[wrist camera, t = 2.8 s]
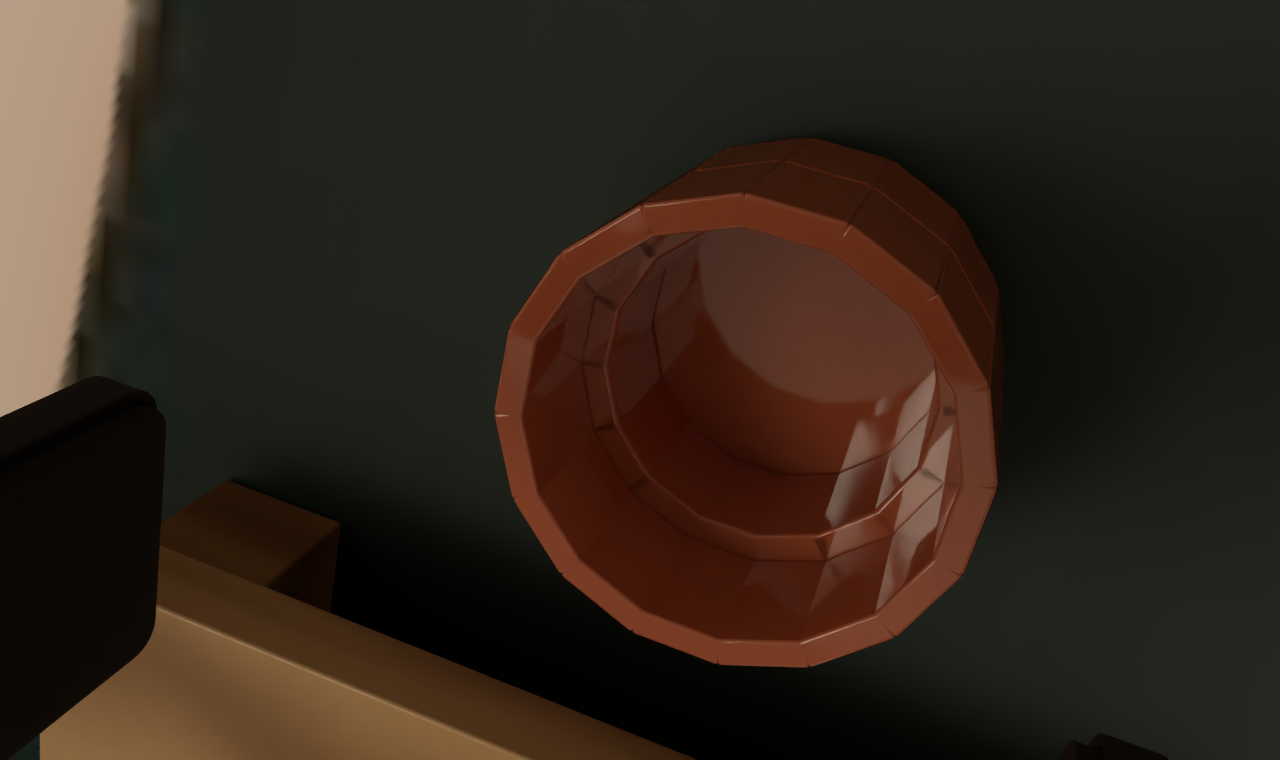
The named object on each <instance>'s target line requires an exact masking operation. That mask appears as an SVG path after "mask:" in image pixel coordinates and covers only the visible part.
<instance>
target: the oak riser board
mask: <svg viewBox="0 0 1280 760" xmlns="http://www.w3.org/2000/svg"><path fill="white" fill-rule="evenodd" d="M340 528H341V524H340V523H339V522H337V521H334V520H331V519H329V518H326V517H323V516H321V515H318V514H316V513H313V512H310V511H308V510H305V509H302V508H300V507H297V506H295V505H292V504H289V503H287V502H284V501H281V500H279V499H276V498H274V497H271V496H268V495H266V494H263V493H260V492H258V491H255V490H253V489H250V488H247V487H245V486H242V485H239V484H237V483H234V482H232V481H224V482H223V483H221V484H219V485H218V486H216V487H215V488H213V489H212V490H210V491H209V492H207V493H206V494H204V495H203V496H201V497H200V498H198V499H197V500H195V501H194V502H192V503H191V504H189V505H188V506H186V507H185V508H183V509H182V510H180V511H178V512H177V513H175V514H174V515H172V516H171V517H169V518H168V519H166V520H165V521H163V522H162V523H161V530H160V549H159V567H158V586H157V604H156V621H155V627H154V630H153V633H152V635H151V637H150V639H149V641H148V643H147V645H146V646H145V647H144V649H143V650H142V651H141V652H140V653H139V654H138V655H137V656H136V657H135V658H134V659H133V660H132V661H130V662H129V663H128V664H127V665H125V666H124V667H123V668H122V669H120V670H119V671H118V672H117V673H115V674H114V675H113V676H112V677H110V678H109V679H108V680H107V681H105V682H104V683H103V684H102V685H100V686H99V687H98V688H97V689H95V690H94V691H93V692H92V693H90V694H89V695H88V696H87V697H85V698H84V699H83V700H82V701H80V702H79V703H78V704H77V705H75V706H74V707H73V708H72V709H70V710H69V711H68V712H67V713H65V714H64V715H63V716H62V717H60V718H59V719H58V720H57V721H55V722H54V723H53V724H52V725H50V726H49V727H48V728H47V729H45V730H44V731H43V732H42V733H40V760H697V759H695V758H692V757H690V756H687V755H685V754H682V753H680V752H677V751H675V750H672V749H670V748H667V747H665V746H662V745H660V744H657V743H655V742H652V741H650V740H647V739H645V738H642V737H640V736H637V735H635V734H632V733H630V732H627V731H625V730H622V729H620V728H617V727H615V726H612V725H610V724H607V723H605V722H602V721H600V720H597V719H595V718H592V717H590V716H587V715H585V714H582V713H580V712H577V711H575V710H572V709H570V708H567V707H565V706H562V705H560V704H557V703H555V702H552V701H550V700H547V699H545V698H542V697H540V696H537V695H535V694H532V693H530V692H527V691H525V690H522V689H520V688H517V687H515V686H512V685H510V684H507V683H505V682H502V681H500V680H497V679H495V678H492V677H490V676H487V675H485V674H482V673H480V672H477V671H475V670H472V669H470V668H467V667H465V666H462V665H460V664H457V663H455V662H452V661H450V660H447V659H445V658H442V657H440V656H437V655H435V654H432V653H430V652H427V651H425V650H422V649H419V648H417V647H414V646H412V645H409V644H407V643H404V642H402V641H399V640H397V639H394V638H392V637H389V636H387V635H384V634H382V633H379V632H377V631H374V630H372V629H369V628H367V627H364V626H362V625H359V624H357V623H354V622H352V621H349V620H347V619H344V618H342V617H339V616H337V615H334V614H332V613H330V611H331V603H332V594H333V586H334V578H335V569H336V561H337V553H338V544H339V536H340Z"/></svg>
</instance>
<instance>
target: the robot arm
mask: <svg viewBox="0 0 1280 760" xmlns="http://www.w3.org/2000/svg"><path fill="white" fill-rule="evenodd" d="M165 438H166V421H165V418H164V416H163V414H162V413H160V412H159V411H157V405H156V403H155V400H154V398H153V397H152V396H151V395H150V394H149V393H148V392H145V391H142V390H139V389H137V388H134V387H131V386H128V385H125V384H123V383H120V382H117V381H114V380H111V379H109V378H106V377H102V376H93V377H89V378H86V379H84V380H82V381H80V382H77V383H75V384H73V385H71V386H68V387H66V388H64V389H62V390H60V391H57V392H55V393H53V394H51V395H49V396H46V397H44V398H42V399H40V400H38V401H35V402H33V403H31V404H29V405H27V406H24V407H22V408H20V409H17V410H15V411H13V412H11V413H9V414H6V415H4V416H2V417H0V760H8V759H9V758H10V757H11V756H13V755H14V754H15V753H16V752H18V751H19V750H20V749H21V748H23V747H24V746H25V745H26V744H28V743H29V742H30V741H32V740H33V739H34V738H35V737H37V736H38V735H39V734H40V733H42V732H43V731H44V730H45V729H47V728H48V727H49V726H50V725H52V724H53V723H54V722H55V721H57V720H58V719H59V718H60V717H62V716H63V715H64V714H65V713H67V712H68V711H69V710H70V709H72V708H73V707H74V706H75V705H77V704H78V703H79V702H80V701H82V700H83V699H84V698H85V697H87V696H88V695H89V694H90V693H92V692H93V691H94V690H95V689H97V688H98V687H99V686H100V685H102V684H103V683H104V682H105V681H107V680H108V679H109V678H110V677H112V676H113V675H114V674H115V673H117V672H118V671H119V670H120V669H122V668H123V667H124V666H125V665H127V664H128V663H129V662H130V661H132V660H133V659H134V658H135V657H136V656H137V655H138V654H139V653H140V652H141V651H142V650H143V649H144V647H145V646H146V645H147V643H148V641H149V639H150V637H151V635H152V633H153V630H154V627H155V621H156V604H157V586H158V567H159V549H160V530H161V512H162V493H163V475H164V456H165ZM1059 760H1168V758H1166V757H1165V756H1164V755H1162V754H1159V753H1156V752H1153V751H1150V750H1148V749H1145V748H1142V747H1139V746H1136V745H1134V744H1131V743H1128V742H1125V741H1122V740H1120V739H1117V738H1114V737H1111V736H1108V735H1106V734H1103V733H1101V734H1098V735H1096V736H1095V737H1094V739H1093V740H1092V741H1091V743H1090V744H1089V746H1088V745H1085V744H1082V743H1079V742H1077V741H1074V740H1073V741H1070V742H1069V743H1068V745H1067V746H1066V747H1065V749H1064V751H1063V753H1062V755H1061V757H1060V759H1059Z"/></svg>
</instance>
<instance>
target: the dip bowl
mask: <svg viewBox="0 0 1280 760" xmlns="http://www.w3.org/2000/svg"><path fill="white" fill-rule="evenodd" d="M957 213H958V212H957V210H956V209H955V208H953V207H952V206H951V205H949V204H948V203H947V202H946V201H944V200H943V199H942V198H941V197H939V196H938V195H937V194H936V193H934V192H933V191H932V190H930V189H929V188H928V187H927V186H925V185H924V184H923V183H922V182H920V181H919V180H918V179H916V178H915V177H914V176H913V175H911V174H910V173H909V172H908V171H906V170H905V169H904V168H903V167H901V166H900V165H899V164H897V163H896V162H895V161H890V162H889V160H888V159H887V158H884V157H881V156H877V155H874V154H870V153H866V152H863V151H859V150H855V149H852V148H848V147H845V146H841V145H837V144H834V143H830V142H827V141H823V140H819V139H816V138H813V139H810V140H808V139H807V138H804V137H803V138H796V139H788V140H780V141H773V142H765V143H757V144H750V145H742V146H734V147H732V148H730V149H724V150H723V151H721V152H719V153H718V154H716V155H714V156H713V157H711V158H709V159H708V160H706V161H704V162H703V163H701V164H699V165H698V166H696V167H694V168H692V169H691V170H689V171H687V172H686V173H684V174H682V175H681V176H679V177H677V178H676V179H674V180H672V181H671V182H669V183H667V184H666V185H664V186H662V187H661V188H659V189H658V190H656V191H655V192H653V193H652V194H650V195H648V196H647V197H645V198H644V199H642V200H641V201H639V202H637V203H636V204H634V205H633V206H631V207H630V208H628V209H627V210H625V211H623V212H622V213H620V214H619V215H617V216H616V217H614V218H613V219H611V220H609V221H608V222H606V223H605V224H603V225H602V226H600V227H598V228H597V229H595V230H594V231H592V232H591V233H589V234H588V235H586V236H584V237H583V238H581V239H580V240H578V241H577V242H575V243H574V244H572V245H570V246H569V247H567V248H566V249H564V250H563V251H562V253H560V254H559V255H558V256H557V257H556V258H555V260H554V261H553V263H552V264H551V266H550V267H549V269H548V270H547V272H546V273H545V275H544V276H543V278H542V279H541V280H540V282H539V283H538V285H537V286H536V288H535V289H534V291H533V292H532V294H531V295H530V297H529V298H528V299H527V301H526V302H525V304H524V305H523V307H522V308H521V310H520V311H519V313H518V314H517V316H516V317H515V319H514V320H513V321H512V323H511V327H510V329H509V332H508V337H507V343H506V348H505V354H504V360H503V365H502V371H501V377H500V382H499V388H498V394H497V399H496V405H495V412H496V413H495V419H496V424H497V428H498V433H499V438H500V442H501V447H502V451H503V456H504V461H505V465H506V470H507V475H508V479H509V484H510V488H511V493H512V496H513V497H514V501H515V503H516V505H517V506H518V508H519V509H520V511H521V513H522V514H523V516H524V517H525V519H526V520H527V522H528V524H529V525H530V527H531V528H532V530H533V531H534V533H535V535H536V536H537V538H538V539H539V541H540V543H541V544H542V546H543V547H544V549H545V550H546V552H547V554H548V555H549V557H550V558H551V560H552V561H553V563H554V565H555V566H556V568H557V569H558V571H559V572H560V573H562V575H563V577H564V578H566V579H567V580H568V581H569V582H570V583H572V584H573V585H574V586H575V587H577V588H578V589H579V590H580V591H582V592H583V593H584V594H585V595H586V596H588V597H589V598H590V599H591V600H593V601H594V602H595V603H596V604H598V605H599V606H600V607H601V608H603V609H604V610H605V611H606V612H607V613H609V614H610V615H611V616H612V617H614V618H615V619H616V620H617V621H619V622H620V623H621V624H622V625H623V626H625V627H626V628H627V629H628V630H630V631H631V630H633V632H634V633H635V634H638V635H641V636H643V637H646V638H648V639H651V640H654V641H656V642H659V643H662V644H664V645H667V646H670V647H672V648H675V649H677V650H680V651H683V652H685V653H688V654H691V655H693V656H696V657H698V658H701V659H704V660H706V661H709V662H712V663H714V664H717V663H719V664H720V665H739V666H771V667H803V668H806V667H809V666H811V667H813V666H816V665H818V664H821V663H824V662H827V661H830V660H833V659H836V658H839V657H841V656H844V655H847V654H850V653H853V652H856V651H859V650H862V649H864V648H867V647H870V646H873V645H876V644H879V643H882V642H884V641H887V640H890V639H893V638H894V637H895V636H898V635H899V634H900V633H901V632H903V631H904V630H905V629H906V628H907V627H908V626H909V625H910V624H911V623H912V622H913V621H914V620H915V619H917V618H918V617H919V616H920V615H921V614H922V613H923V612H924V611H925V610H926V609H927V608H928V607H930V606H931V605H932V604H933V603H934V602H935V601H936V600H937V599H938V598H939V597H940V596H941V595H942V594H944V593H945V592H946V591H947V590H948V589H949V588H950V587H951V586H952V585H953V584H954V583H955V582H957V581H958V580H959V579H960V578H961V576H962V574H963V573H964V572H965V570H966V567H967V565H968V562H969V560H970V557H971V555H972V552H973V550H974V547H975V545H976V542H977V540H978V537H979V534H980V532H981V529H982V527H983V524H984V522H985V519H986V517H987V514H988V512H989V509H990V507H991V504H992V502H993V499H994V496H995V494H996V491H997V485H998V474H999V455H1000V436H1001V418H1002V416H1001V412H1002V396H1003V377H1004V350H1003V337H1002V323H1001V309H1000V295H999V289H998V287H997V283H996V280H995V278H994V276H993V275H992V273H991V271H990V269H989V267H988V265H987V263H986V262H985V260H984V258H983V256H982V254H981V252H980V251H979V249H978V247H977V245H976V243H975V241H974V239H973V238H972V236H971V234H970V232H969V230H968V228H967V226H966V225H965V223H964V221H963V219H962V217H961V216H959V215H957Z"/></svg>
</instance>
